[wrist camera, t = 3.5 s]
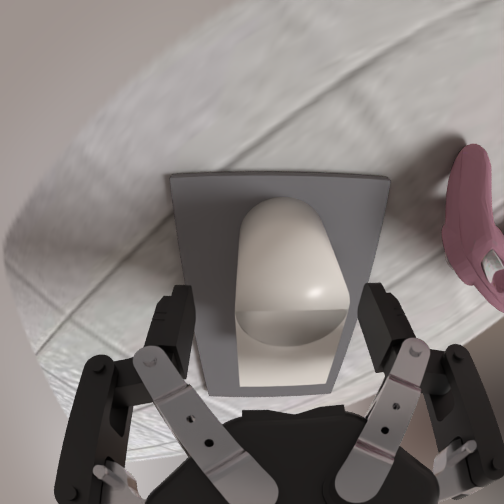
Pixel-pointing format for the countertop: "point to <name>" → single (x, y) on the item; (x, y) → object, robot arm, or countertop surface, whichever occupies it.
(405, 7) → the countertop surface
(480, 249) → the video game controller
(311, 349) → the plug block
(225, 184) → the rubber mat
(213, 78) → the countertop surface
